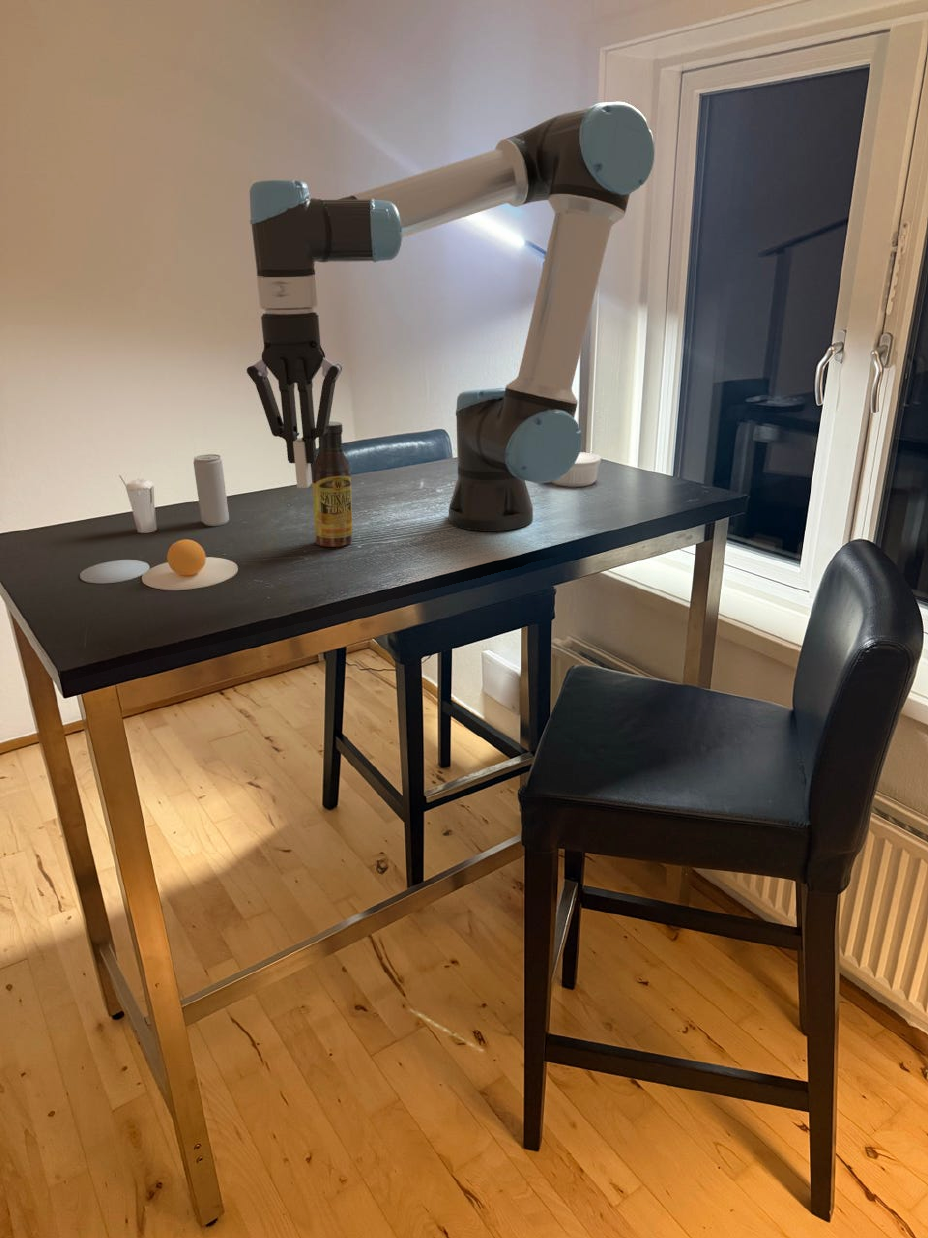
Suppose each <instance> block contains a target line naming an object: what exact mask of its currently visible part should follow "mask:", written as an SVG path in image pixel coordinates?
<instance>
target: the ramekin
mask: <svg viewBox="0 0 928 1238" xmlns="http://www.w3.org/2000/svg"><path fill="white" fill-rule="evenodd" d="M601 463H602V458H601V455H598V454H594V453H591V452H584V451H582V452H581V451H580V453H579V456H578V458H577V460H576V462H575V463H574V465H573V466H572V467H571V469H570V470H569V471H568V472H567V473H565V474H564V475H562V476H561V477H559V478H558V479H556V480H554V481H551V482H552V484H554V485H557V486H562V487H570V488H571V487H572V488H573V487H585V486H586V487H587V486H590V485H592V484H594V483H595V481H596V480H597V477H598V474H599V468H600V464H601Z"/></svg>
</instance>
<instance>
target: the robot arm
mask: <svg viewBox="0 0 928 1238" xmlns="http://www.w3.org/2000/svg"><path fill="white" fill-rule="evenodd" d="M655 151H656V150H655V142H654V136H653V132H652V130H651V129H650V128H649V125H648V121H647V119H646V117H644V115H643V114H642V113H641V112H640V111H639V110H638V109H637V108H636V107H634V106H633V105H631V104H628V103H627V102H622V101H613V102H599V103H596V104H593V105H592V106H590V107H587V108H582V109H579V110H575V111H570V112H565V113H562V114H558V115H556V116H554V117H552V118H550V119H547V120H544V121H542V122H540V123H539V124H537V125H535V126H533V127H531V128H529V129H526V130H524V131H522V132H520V133H517V134H515V135H513V136H509V137H507V138H504V139H501V140H499V141H498V143H497V144H496V146H495V149H493V150H490V151H487V152H484V153H481V154H477V155H474V156H471V157H468V158H465V159H462V160H461V159H460V160H459V161H455V162H453V163H452V162H451V163H449V164H446V165H442V166H440V167H437V168H432V169H431V170H428V171H423V172H421V173H418V174H413V175H410V176H407V177H405V178H402V179H398V180H395V181H392V182H389V183H385V184H383V185H379V186H376V187H373V188H370V189H366V190H363V191H360V192H357V193H354V194H351V195H350V196H346V197H341V198H337V199H320V198H319V199H317V198H313V197H312V196H311V194H310V191H309V186H308V184H307V182H305V181H302V180H291V179H289V180H288V179H273V180H269V179H267V180H260V181H256V182H255V183H253V184H252V185H251V187H250V189H249V204H250V205H249V207H250V208H249V209H250V212H249V213H250V220H249V223H250V226H251V233H252V239H253V242H252V243H253V247H254V249H253V250H254V256H255V257H254V259H255V265H256V276H257V277H256V281H257V290H258V297H259V298H258V300H259V307H260V308H261V310H264V311H265V312H264V313H262V315H261V316H260V320H261V331H262V339H263V340H262V341H263V350H262V352H261V359H260V360H258V361H256V363H255V364H253V365H250V366H248V367H247V368H246V374H247V376H249V378H250V379H251V380H252V381H253V383H254V384H255V387H256V390H257V393H258V396H259V399H260V402H261V405H262V409H263V411H264V413H265V418H266V420H267V423H268V426H269V429H270V432H271V434H272V436H273V437H279V438H281V439H283V440H284V441H285V443H286V452H287V461H288V463H289V464H294V466H295V467H294V468H295V478H296V488H297V489H307V488H309V487H310V486H311V485H313V472H312V466H311V465H312V464H314V462H315V461H316V459H317V455H318V453H317V444H316V439H317V438H318V437H321V436H323V435H324V434H325V433H326V432H327V431H328V426H329V422H330V419H331V412H332V407H333V400H334V394H335V387H336V382H337V380H338V378H339V376H340V375H341V373H342V370H343V367H342V366H341V365H340V364H338V363H337V364H335V363H334V362H332V361H331V360H329V359H327V358H326V354H325V352H324V350H323V348H322V345H321V332H320V321H319V314H317V312H315V311H314V309H316V308H317V307H318V297H317V296H318V295H317V294H318V293H317V284H316V270H315V263H316V262H317V263H324V264H325V263H328V262H329V263H330V262H338V263H340V262H345V263H346V262H347V263H348V262H352V263H353V262H354V263H355V262H357V263H358V262H373V263H377V262H382V261H383V262H384V261H391V260H394V259H395V258H396V257H397V256H398V255H399V253H400V250H401V247H402V240H403V238H405V237H408V236H411V235H415V234H416V233H420V232H422V231H423V232H424V231H426V230H429V229H432V228H436V227H438V226H441V225H444V224H448V223H450V222H453V221H457V220H460V219H462V218H466V217H469V216H471V215H475V214H478V213H481V212H483V211H487V210H490V209H492V208H496V207H498V206H499V207H500V206H501V205H506V204H509V205H510V206H512V207H514V208H516V207H517V208H518V207H520V206H523V205H526V204H530V203H535V202H541V201H548V203H549V205H550V207H551V208H552V211H554V218H553V222H552V227H551V231H550V235H549V239H548V244H547V248H546V253H545V257H544V260H543V266H542V270H541V275H540V279H539V282H538V283H539V284H538V288H537V291H536V297H535V299H534V306H533V310H532V314H531V319H530V323H529V327H528V331H527V336H526V340H525V344H524V350H523V353H522V359H521V361H520V363H521V364H520V368H519V371H518V376H517V377H516V378H514V380H512V381H511V382H509V383H508V384H506V386H505V387H499V388H496V387H494V388H483V389H472V390H465V391H462V392H461V393H459V395H458V396H457V399H456V400H457V401H456V410H455V416H456V446H457V447H456V452H457V457H456V458H457V479H456V482H455V486H454V489H453V493H452V496H451V499H450V502H449V506H448V521H449V523H450V524H451V525H453V526H454V527H457V528H461V529H465V530H470V531H477V532H478V531H480V532H502V531H504V532H505V531H510V530H516V529H521V528H524V527H526V526H528V525H529V524H531V523H532V522H533V520H534V508H533V507H534V506H533V503H532V500H531V497H530V495H529V494H530V493H529V490H528V487H527V484H526V482H531V483H535V484H546V483H551V482H552V481H554V480H556V479H558V478H559V477H561V476H562V475H564V474H565V473H567V472H568V471H569V470H570V469H571V467H572V466H573V465H574V463H575V462H576V460H577V458H578V456H579V453H580V452H581V451H582V450H581V449H582V445H583V444H582V443H583V436H582V431H581V429H580V427H579V426H580V425H579V423H578V421H577V420H576V419H575V416H576V412H577V408H578V403H579V402H578V399H577V397H576V396H575V394H574V393H573V383H574V380H575V377H576V372H577V369H578V368H577V367H578V364H579V359H580V356H581V355H580V354H581V353H582V347H583V345H584V344H583V342H584V340H585V336H586V331H587V327H588V324H589V323H588V322H589V319H590V314H591V312H592V308H593V303H594V298H595V294H596V291H597V287H598V282H599V277H600V274H601V270H602V265H603V262H604V258H605V253H606V250H607V246H608V241H609V237H610V234H611V229H612V227H613V225H615V224H617V223H618V222H619V221H621V220H622V219H624V217H625V216H626V213H627V207H628V203H629V199H630V195H631V194H632V193H633V192H635V191H638V189H640V187H641V186H643V185H644V184H645V183H646V182H647V180H648V178H649V176H650V174H651V172H652V169H653V168H654V167H653V165H654V162H655ZM320 368H322V369H321V370H322V371H321V375H322V377H324V379H323V381H322V385H321V390H320V391H321V392H320V398H319V404H318V410H317V417H316V418H315V410H314V408H315V407H314V397H313V386H314V385H313V379H315V377H316V375H317V374H318V372H319V370H320ZM268 370H269V371H270V372H271V374H272V375H273V376H274V377H275V379H276V380H277V382H278V390H279V393H280V400H281V401H280V402H281V411H282V412H280V409H279V407H278V404H277V403H278V402H277V400H276V397H275V394H274V391H273V388H272V385H271V382H270V380H269V378H268V374H269V371H268ZM295 385H296V386H297V391H298V397H299V407H300V408H299V409H300V419H301V430H302V437H300V438H299V437H298V436H299V435H300V432H299V431H298V430H299V429H298V418H297V409H296V407H297V406H296V398H295ZM281 413H282V416H281ZM315 419H316V422H315ZM318 439H319V438H318Z"/></svg>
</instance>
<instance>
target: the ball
mask: <svg viewBox="0 0 928 1238" xmlns="http://www.w3.org/2000/svg"><path fill="white" fill-rule="evenodd" d="M166 557H167V558H166V559H167V562H168V564H169V566H170V568H171V569H172V570H173V571H174V572H175V573H177V574H179V575H182V576H192V575H195V574H197V573H198V572H200V571H201V569H202V568H203V567H204V564H205V561H206V557H207V556H206V553H205V550H204V548H203V547H202V545H200V544H199V543H198V542H197V541H194V540H191V539H188V538H187V539H181V540H177V541H176V542H174V543H173V544H172V545H171V546H170V547H169V548H168V551H167V554H166Z"/></svg>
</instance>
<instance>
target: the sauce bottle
mask: <svg viewBox="0 0 928 1238" xmlns="http://www.w3.org/2000/svg"><path fill="white" fill-rule="evenodd" d="M343 431H344V430H343V422H340V421H329V426H328V431H327V432H326V433H325V434H324V435H323V436H321V437H318V452H317V459H316V461H315V462H314V463H312V498H313V518H314V519H313V520H314V522H313V523H314V534H315V541H316V544H317V545H318V546H320V547H325V548H341V547H345V546H349V545H350V544H351V543H352V539H353V538H352V535H353V532H354V530H353V506H352V505H353V504H352V503H353V502H352V479H351V471H350V463H349V460H348V457H346V455H345V453H344V450H343V449H344V447H343V438H342V435H343Z"/></svg>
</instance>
